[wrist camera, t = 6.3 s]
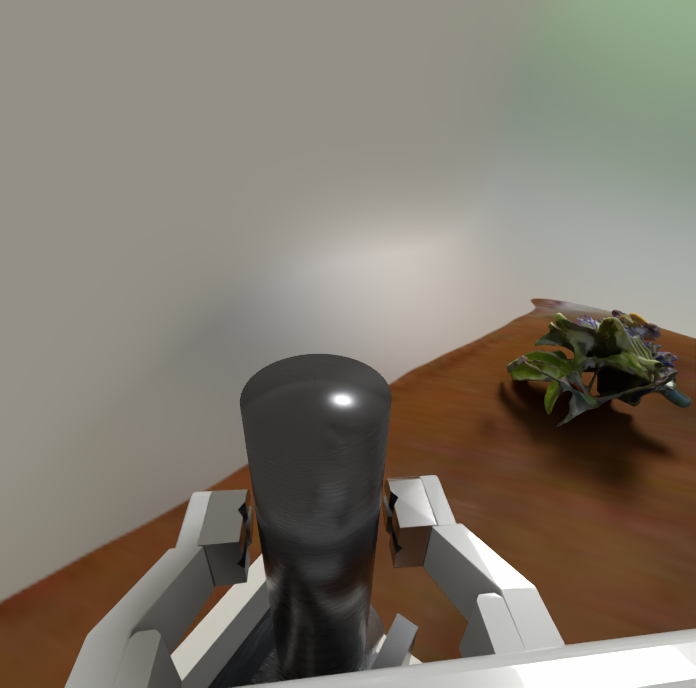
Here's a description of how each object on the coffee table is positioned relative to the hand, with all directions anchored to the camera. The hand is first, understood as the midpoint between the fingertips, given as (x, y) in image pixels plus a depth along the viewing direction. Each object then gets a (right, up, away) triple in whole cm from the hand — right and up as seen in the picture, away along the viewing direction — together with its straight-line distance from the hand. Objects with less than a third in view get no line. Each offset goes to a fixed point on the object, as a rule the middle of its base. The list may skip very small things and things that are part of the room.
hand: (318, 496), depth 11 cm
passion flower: (+22, -2, +23) cm, 32 cm away
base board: (-7, -16, -4) cm, 17 cm away
